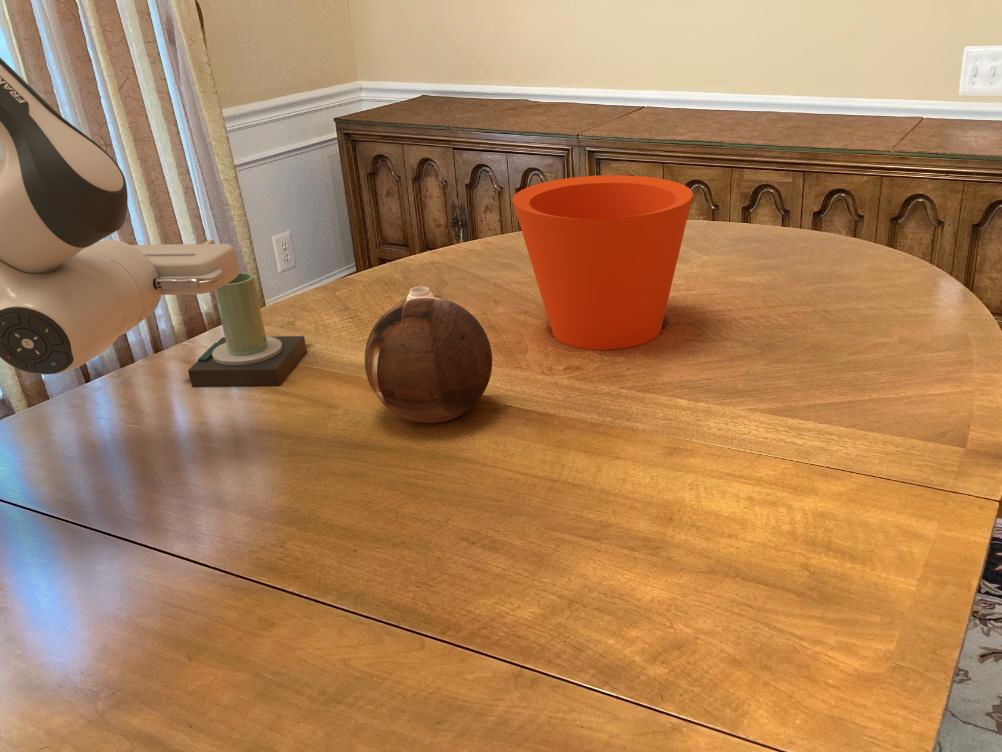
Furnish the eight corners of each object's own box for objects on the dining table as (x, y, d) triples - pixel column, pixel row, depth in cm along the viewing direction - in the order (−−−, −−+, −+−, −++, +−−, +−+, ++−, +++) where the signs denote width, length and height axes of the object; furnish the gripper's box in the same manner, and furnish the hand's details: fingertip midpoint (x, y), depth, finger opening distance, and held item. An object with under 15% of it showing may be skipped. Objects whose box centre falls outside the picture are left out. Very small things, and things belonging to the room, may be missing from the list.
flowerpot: (604, 290, 160) (600, 168, 151) (725, 325, 145) (729, 190, 135) (487, 333, 145) (475, 199, 136) (609, 377, 129) (604, 229, 120)
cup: (222, 356, 132) (206, 285, 128) (236, 341, 137) (221, 272, 132) (260, 355, 132) (245, 284, 127) (273, 341, 136) (259, 272, 132)
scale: (191, 386, 131) (186, 366, 129) (225, 352, 141) (221, 333, 140) (279, 385, 130) (275, 364, 129) (307, 351, 141) (303, 331, 139)
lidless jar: (442, 308, 155) (429, 299, 159) (440, 290, 154) (427, 282, 158) (413, 314, 153) (400, 306, 157) (410, 296, 152) (398, 288, 155)
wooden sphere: (487, 385, 128) (477, 274, 121) (505, 435, 115) (495, 314, 108) (371, 400, 125) (354, 287, 118) (376, 453, 112) (357, 330, 105)
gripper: (204, 255, 99) (252, 218, 111) (8, 257, 100) (77, 221, 112) (217, 313, 102) (262, 272, 114) (27, 315, 103) (92, 274, 115)
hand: (169, 247), depth 113 cm, fingers open, 8 cm apart
